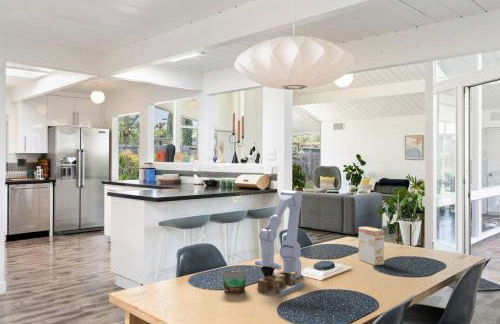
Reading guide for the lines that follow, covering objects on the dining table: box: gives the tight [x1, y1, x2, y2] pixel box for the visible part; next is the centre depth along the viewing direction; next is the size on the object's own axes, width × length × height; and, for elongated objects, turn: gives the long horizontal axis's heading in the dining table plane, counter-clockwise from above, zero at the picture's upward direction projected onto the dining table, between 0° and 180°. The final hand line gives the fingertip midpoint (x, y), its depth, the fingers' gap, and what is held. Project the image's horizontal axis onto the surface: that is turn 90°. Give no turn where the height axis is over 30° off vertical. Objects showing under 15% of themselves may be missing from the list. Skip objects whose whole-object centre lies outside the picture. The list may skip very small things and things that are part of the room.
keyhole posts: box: [273, 272, 298, 294], centre depth 199 cm, size 17×4×6 cm, turn 140°
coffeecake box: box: [358, 225, 385, 266], centre depth 248 cm, size 15×7×20 cm, turn 22°
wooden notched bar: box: [257, 270, 292, 294], centre depth 203 cm, size 19×5×5 cm, turn 139°
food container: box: [220, 269, 248, 295], centre depth 195 cm, size 12×6×10 cm, turn 105°
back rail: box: [279, 281, 305, 297], centre depth 197 cm, size 18×1×2 cm, turn 140°
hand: (268, 282), depth 206 cm, fingers closed
